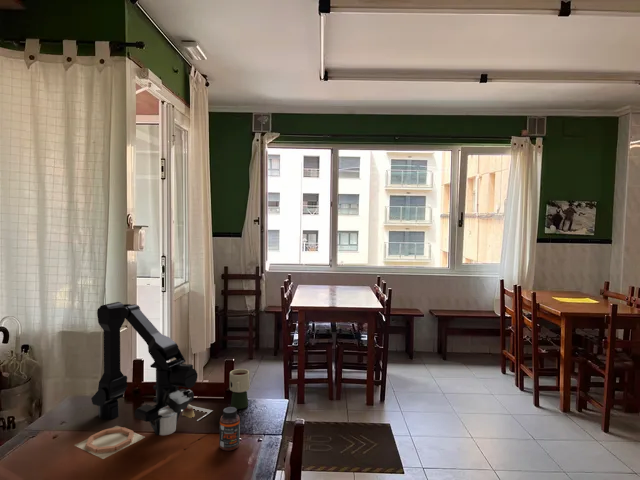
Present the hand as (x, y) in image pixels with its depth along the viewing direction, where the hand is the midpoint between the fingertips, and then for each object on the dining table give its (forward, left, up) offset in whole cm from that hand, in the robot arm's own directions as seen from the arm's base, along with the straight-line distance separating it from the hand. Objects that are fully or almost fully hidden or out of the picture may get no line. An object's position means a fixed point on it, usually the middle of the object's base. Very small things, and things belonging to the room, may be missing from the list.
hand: (166, 430), depth 136 cm
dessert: (-4, +12, -2) cm, 13 cm away
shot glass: (0, 0, -1) cm, 1 cm away
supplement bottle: (+22, +5, -2) cm, 23 cm away
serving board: (-9, -13, -1) cm, 16 cm away
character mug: (+7, +27, -1) cm, 28 cm away
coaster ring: (-9, -13, 0) cm, 16 cm away
